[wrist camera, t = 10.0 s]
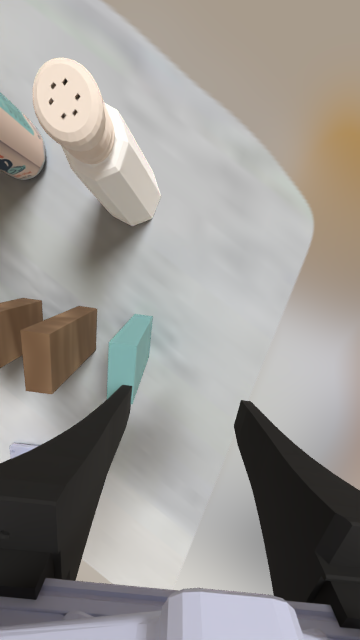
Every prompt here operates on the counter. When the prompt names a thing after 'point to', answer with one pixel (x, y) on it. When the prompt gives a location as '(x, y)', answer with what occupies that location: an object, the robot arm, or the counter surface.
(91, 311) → the walnut domino
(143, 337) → the teal domino
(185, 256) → the counter surface
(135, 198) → the pepper shaker
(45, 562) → the robot arm
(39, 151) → the beer can
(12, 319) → the walnut domino
